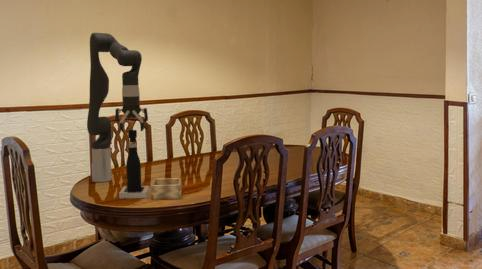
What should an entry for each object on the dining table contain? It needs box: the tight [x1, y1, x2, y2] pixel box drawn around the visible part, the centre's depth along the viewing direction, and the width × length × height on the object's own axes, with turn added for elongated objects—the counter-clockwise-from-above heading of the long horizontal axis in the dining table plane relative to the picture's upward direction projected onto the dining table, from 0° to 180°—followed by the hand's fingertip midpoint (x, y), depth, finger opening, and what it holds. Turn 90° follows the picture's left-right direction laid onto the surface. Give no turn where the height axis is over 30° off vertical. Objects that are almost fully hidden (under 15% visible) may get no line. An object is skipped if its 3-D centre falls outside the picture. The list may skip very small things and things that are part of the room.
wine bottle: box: [125, 129, 142, 192], centre depth 216 cm, size 6×6×30 cm
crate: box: [150, 177, 182, 201], centre depth 216 cm, size 13×13×6 cm
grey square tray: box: [118, 185, 150, 200], centre depth 218 cm, size 12×12×2 cm
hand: (132, 131), depth 214 cm, fingers open, 8 cm apart
